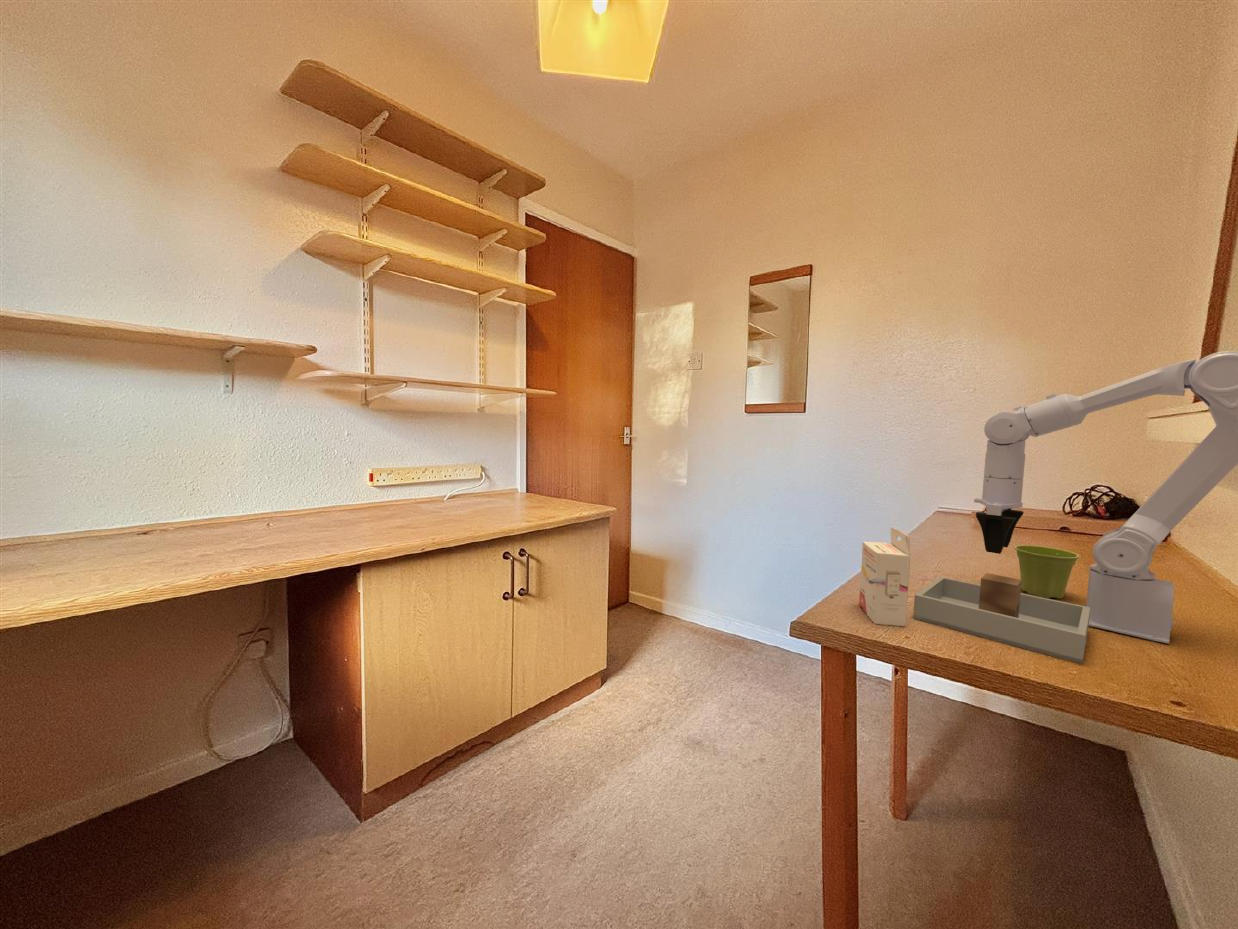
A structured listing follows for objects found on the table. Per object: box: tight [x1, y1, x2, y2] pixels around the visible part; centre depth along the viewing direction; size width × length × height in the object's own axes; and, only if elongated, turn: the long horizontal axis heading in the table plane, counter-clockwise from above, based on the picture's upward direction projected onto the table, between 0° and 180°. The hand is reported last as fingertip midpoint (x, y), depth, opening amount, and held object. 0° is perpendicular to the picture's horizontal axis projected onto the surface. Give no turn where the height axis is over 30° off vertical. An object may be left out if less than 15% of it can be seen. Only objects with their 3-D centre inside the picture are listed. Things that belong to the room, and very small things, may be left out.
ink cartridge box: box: [858, 526, 911, 627], centre depth 78 cm, size 9×5×15 cm, turn 168°
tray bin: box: [912, 576, 1090, 665], centre depth 75 cm, size 20×16×4 cm
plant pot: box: [1013, 544, 1081, 600], centre depth 91 cm, size 9×9×9 cm
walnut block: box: [979, 572, 1022, 618], centre depth 75 cm, size 4×4×7 cm
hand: (997, 549), depth 88 cm, fingers open, 7 cm apart
